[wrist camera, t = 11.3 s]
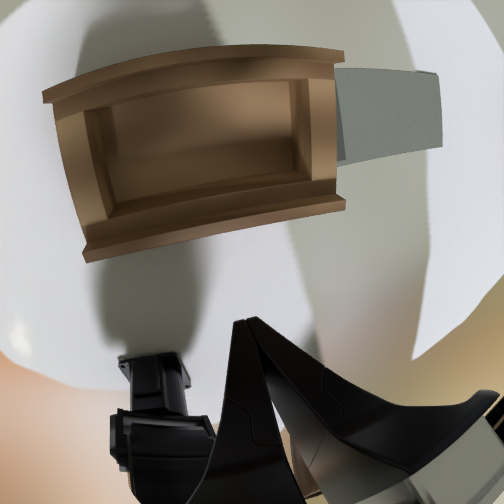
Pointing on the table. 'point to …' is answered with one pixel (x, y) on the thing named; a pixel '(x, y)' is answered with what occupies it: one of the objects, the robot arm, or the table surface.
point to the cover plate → (385, 113)
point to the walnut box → (198, 143)
